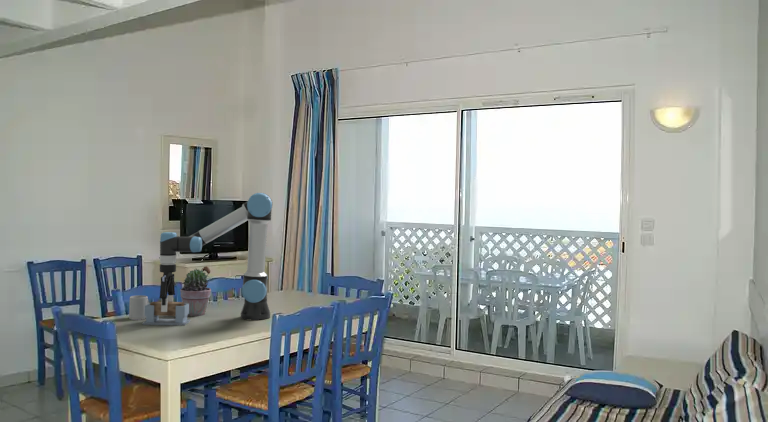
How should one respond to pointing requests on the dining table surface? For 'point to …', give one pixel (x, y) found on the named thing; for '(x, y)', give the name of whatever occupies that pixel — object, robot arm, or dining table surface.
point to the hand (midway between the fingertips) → (167, 310)
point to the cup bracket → (180, 319)
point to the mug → (137, 307)
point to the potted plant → (196, 291)
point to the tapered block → (170, 308)
